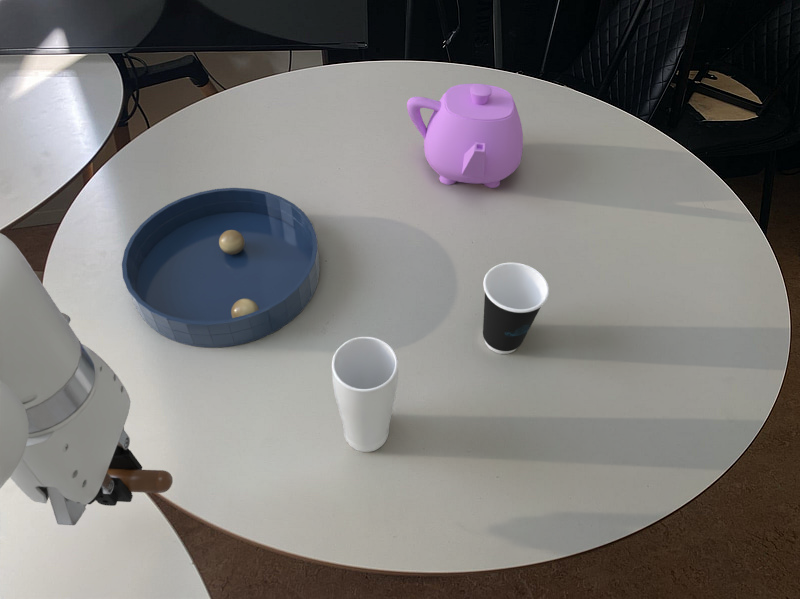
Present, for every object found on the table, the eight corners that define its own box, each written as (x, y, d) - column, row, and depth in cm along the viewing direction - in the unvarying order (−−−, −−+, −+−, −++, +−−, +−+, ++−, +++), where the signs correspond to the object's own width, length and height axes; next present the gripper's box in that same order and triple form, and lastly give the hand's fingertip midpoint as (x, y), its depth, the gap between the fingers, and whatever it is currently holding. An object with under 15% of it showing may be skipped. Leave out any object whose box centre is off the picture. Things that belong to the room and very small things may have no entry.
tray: (305, 353, 78) (301, 330, 74) (105, 341, 78) (91, 318, 75) (330, 217, 95) (328, 192, 91) (165, 207, 95) (156, 183, 91)
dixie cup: (515, 374, 77) (532, 321, 69) (461, 345, 80) (471, 292, 71) (540, 333, 82) (559, 279, 73) (489, 307, 84) (501, 252, 76)
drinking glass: (402, 417, 73) (407, 345, 61) (384, 467, 68) (386, 400, 57) (349, 401, 74) (345, 327, 62) (329, 450, 70) (320, 380, 58)
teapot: (398, 207, 97) (401, 127, 86) (407, 135, 110) (411, 57, 98) (520, 217, 96) (540, 137, 85) (515, 143, 109) (531, 65, 98)
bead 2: (223, 301, 79) (243, 298, 82) (227, 328, 79) (247, 324, 82) (242, 299, 77) (262, 295, 80) (247, 326, 77) (267, 322, 80)
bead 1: (243, 260, 88) (239, 242, 85) (219, 259, 88) (214, 241, 85) (248, 243, 90) (244, 225, 87) (224, 241, 90) (220, 223, 87)
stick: (173, 495, 56) (165, 490, 54) (78, 492, 56) (67, 487, 54) (178, 473, 57) (170, 468, 55) (85, 470, 57) (74, 464, 55)
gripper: (30, 290, 47) (111, 406, 61) (-83, 486, 37) (45, 571, 51) (125, 295, 47) (184, 411, 61) (38, 493, 37) (132, 576, 51)
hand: (120, 483), depth 56 cm, fingers closed on stick, 2 cm apart
